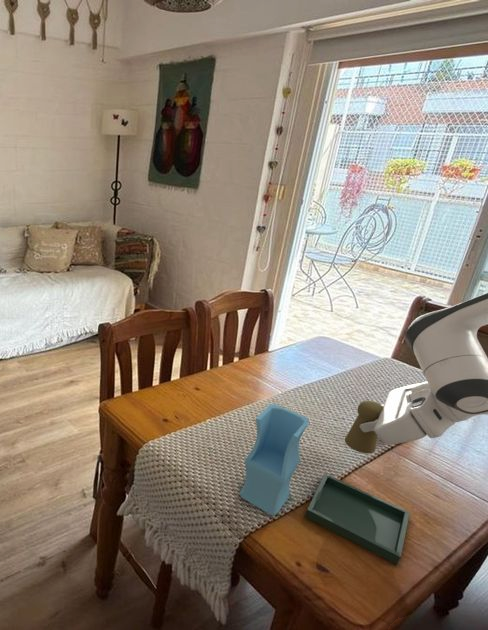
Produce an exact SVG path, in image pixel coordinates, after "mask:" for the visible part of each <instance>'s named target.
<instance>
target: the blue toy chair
mask: <svg viewBox="0 0 488 630" xmlns="http://www.w3.org/2000/svg"><path fill="white" fill-rule="evenodd" d="M310 423H311V421H310V419H309V418H308V417H307V416H305V415H302V414H300V413H298V412H295V411H293V410H291V409H288V408H286V407H283V406H281V405H278V404H275V403H274V404H269V405H267V407H266V408H265V409H263V411H262V412H260V413H259V415H257V416H256V417H255V425H256V438H255V442H254V445H253V447H252V448H251V450H250V452H249V453H248V454H247V456H246V458H245V460H244V466H245V467H244V468H245V480H244V484H243V486H242V487H241V490H240V492H239V496H240V497H241V498H242V499H243V500H245V501H246V502H248V503H250V504H251V505H253V506H254V507H256V508H258V509H260V510H261V511H263V512H265V513H267V514H268V515H271V516H275V515H277V513H279V512H280V511H281V509H282V507H284V504H285V503H286V502H287V501H288V499H289V498H290V486H291V480H292V477H293V475H294V473H296V472H295V471H296V470H297V468H298V466H299V465H300V462H301V456H300V455H301V454H300V440H301V439H302V436H303V434H304V432H305V431H306V429H307V427H308V426H309V424H310Z"/></svg>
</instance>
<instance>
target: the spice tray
mask: <svg viewBox="0 0 488 630" xmlns="http://www.w3.org/2000/svg"><path fill="white" fill-rule="evenodd" d="M410 514H411V512H410V511H408V510H406V509H404V508H402V507H399V506H397V505H395V504H393V503H390V502H388V501H386V500H384V499H382V498H380V497H377V496H375V495H373V494H371V493H368V492H367V491H365V490H362V489H360V488H358V487H356V486H353V485H351V484H349V483H347V482H344V481H342V480H340V479H338V478H335V477H334V476H332V475H329V474H327V473H324V474H323V476H322V477H321V480H320V483H319V484H318V486H317V487H316V490H315V492H314V494H313V496H312V499H311V500H310V502H309V505H308V507H307V508H306V512H305V515H304V517H305V518H306V519H308V520H310V521H312V522H314V523H316V524H318V525H320V526H322V527H324V528H326V529H327V530H330V531H331V532H333V533H335V534H337V535H339V536H341V537H343V538H345V539H346V540H349V542H352V543H354V544H355V545H359V546H360V547H362V548H364V549H366V550H368V551H370V552H372V553H373V554H375V555H378V556H379V557H381V558H383V559H385V560H387V561H389V562H391V563H393V564H395V565H398V564H399V562H400V560H401V558H402V553H403V548H404V544H405V538H406V534H407V529H408V524H409V519H410Z"/></svg>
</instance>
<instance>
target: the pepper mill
mask: <svg viewBox="0 0 488 630" xmlns="http://www.w3.org/2000/svg"><path fill="white" fill-rule="evenodd" d="M382 410H383V406H382V404H380V403H378V402H376V401H372V400H363V401H361V402H360V403H359V405H358V406H357V414H358V415H357V417H356V418H355V419H354V422H353V424H352V425H351V428H350V429H349V431H348V433H347V435H346V436H345V437H344V443H345V445H346V446H348V447H349V448H350V449H352V450H353V451H355V452H358V453H361V454H367V455H369V454H374V453H375V451H376V449H377V443H378V438H379V437H378V436H377V434H376V433H375V431H369V432H363V431H362V430H361V428H360V424H361V423H362V422H365V421H369V422H373V421H375V420H377V419H378V418H379V416H380V413H381V411H382Z"/></svg>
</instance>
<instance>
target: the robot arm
mask: <svg viewBox="0 0 488 630" xmlns="http://www.w3.org/2000/svg"><path fill="white" fill-rule="evenodd" d="M487 325H488V292H485V293H483V294H480V295H478V296H475V297H473V298H470V299H467V300H466V301H465V300H464V301H463V302H460V303H457V304H455V305H453V306H449V307H446V308H442V309H439V310H434V311H430V312H428V313H424V314H422V315H420V316H417V317H416V318H415V319H414V320H413V321H412V322H411V323H410V324H409V325H408V328H407V329H406V331H405V334H404V338H405V341H406V342H407V344H408V347H409V348H410V350H411V352H412V353H413V354H414V355H415V358H416V361H417V362H418V364H419V367H420V370H421V372H422V374H423V376H424V378H425V380H426V381H423V382H420V383H413V384H408V385H404V386H400V387H397V388H394V389H392V390H390V391H389V392H388V393H387V396H386V398H385V401H384V403H382V404H381V405H382V406H383V410H382V411H381V413H380V416H379V418H378V419H377V420H375V421H373V422H369V421H365V422H362V423H361V424H360V428H361V430H362V431H363V432H369V431H375V433H376V434H377V436H378V438H379V440H380V441H381V443H382V444H385V445H389V446H390V445H398V444H403V443H409V442H413V441H418V440H421V439H423V438H425V437H426V436H427V437H428V438H429V439H436V438H439V437H442V436H443V435H444V434H445V433H446V431H447V430H448V429H450V428H451V427H452V426H454V425H455V424H456V423H460V422H464V421H467V420H469V419H471V418H473V417H476V416H481V415H483V416H484V415H488V356H487V354H486V352H485V350H484V349H483V347H482V344H481V343H480V341H479V339H478V331H479V329H480V328H481V327H484V326H487Z"/></svg>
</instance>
